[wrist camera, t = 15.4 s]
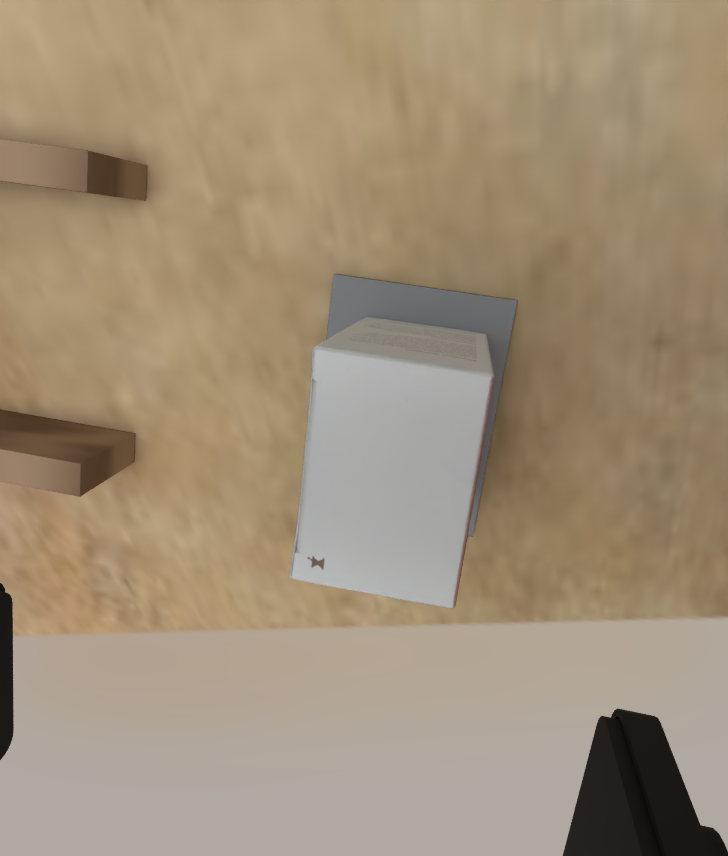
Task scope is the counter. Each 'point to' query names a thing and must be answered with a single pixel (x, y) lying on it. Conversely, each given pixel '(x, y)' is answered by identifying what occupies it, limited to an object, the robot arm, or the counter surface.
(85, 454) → the nook
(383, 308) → the mat
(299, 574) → the small box
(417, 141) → the counter surface
